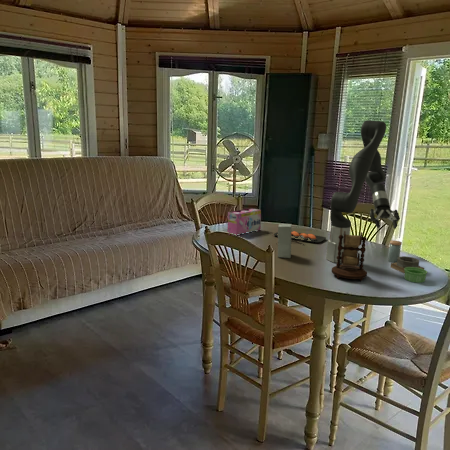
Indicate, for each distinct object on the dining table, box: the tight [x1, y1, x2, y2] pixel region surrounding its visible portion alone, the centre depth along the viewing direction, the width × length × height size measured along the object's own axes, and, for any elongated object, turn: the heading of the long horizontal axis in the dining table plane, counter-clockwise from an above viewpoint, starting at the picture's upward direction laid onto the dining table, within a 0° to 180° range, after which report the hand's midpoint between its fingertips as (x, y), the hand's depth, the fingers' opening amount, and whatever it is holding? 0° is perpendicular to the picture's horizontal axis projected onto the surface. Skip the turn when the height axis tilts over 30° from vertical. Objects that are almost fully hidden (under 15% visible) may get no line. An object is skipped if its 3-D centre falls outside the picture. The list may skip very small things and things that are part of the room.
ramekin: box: [403, 267, 428, 284], centre depth 174 cm, size 9×9×4 cm
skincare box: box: [277, 223, 292, 259], centre depth 203 cm, size 8×7×16 cm
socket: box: [390, 255, 425, 274], centre depth 187 cm, size 10×10×5 cm
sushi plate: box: [273, 230, 327, 246], centre depth 234 cm, size 29×30×4 cm
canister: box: [387, 239, 403, 264], centre depth 199 cm, size 5×5×10 cm
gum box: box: [227, 207, 262, 235], centre depth 250 cm, size 24×8×14 cm, turn 136°
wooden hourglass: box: [331, 231, 368, 282], centre depth 175 cm, size 15×15×20 cm
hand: (387, 227), depth 208 cm, fingers open, 8 cm apart
